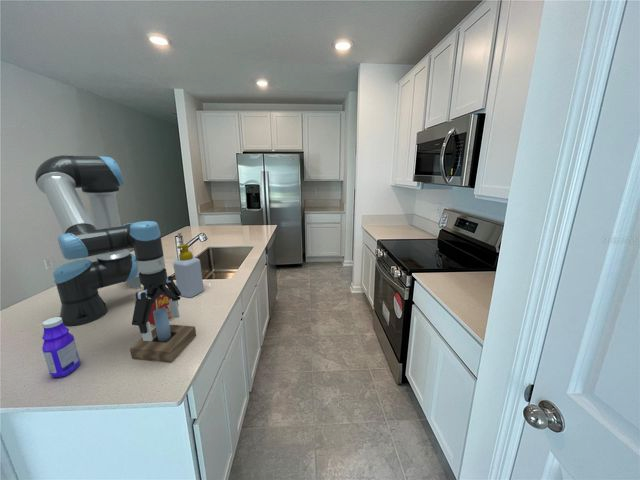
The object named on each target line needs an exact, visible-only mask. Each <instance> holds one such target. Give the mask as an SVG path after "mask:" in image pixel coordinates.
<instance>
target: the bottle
mask: <svg viewBox="0 0 640 480" xmlns="http://www.w3.org/2000/svg"><path fill="white" fill-rule="evenodd" d="M42 328H43V334H42V337H41V339H42V340H43V343H42V347H41V349H42V353H43V358H44V359H45V360H44V361H45V363H46V365H47V369H48V372H49V373H48V374H49V375H50V376H51V377H53V378H62V377H65V376H67V375H69V374H71V373H72V372H74V370H76V369H77V368H78V367H79V365H80V363H81V359H80V355H79V351H78V347H77V344H76V340H75V337H74V335H73V334H72V333H71V332H69V331H70V328H68V326H65V325H64V323H63V321H62V318H61V317H60V316H57V317H56V316H55V317H51V318H48V319H46V320H44V321H43V322H42Z"/></svg>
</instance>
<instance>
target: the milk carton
mask: <svg viewBox="0 0 640 480" xmlns="http://www.w3.org/2000/svg"><path fill="white" fill-rule="evenodd" d="M143 290H144V286H143V285H141V288H140V292H142V291H143ZM148 299H152V298H149V297H148ZM170 300H171V299H169V298H168V297H166V296H165V295H164V294H163V295H161V296H159V297H158V298H157V299H156V301H155V302H154V303H153V306H152V309H151V312H150V314H149V317H148V320H147V322H150V327H153V328H155V327H156V326H155V321H154V316H153V311H155V310H156V309H159V308H166V309H167V314H168V320H169V322H171V320H174V319H175V317H171V311H170V305H169V301H170Z"/></svg>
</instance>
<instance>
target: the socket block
mask: <svg viewBox="0 0 640 480" xmlns="http://www.w3.org/2000/svg"><path fill="white" fill-rule="evenodd" d="M169 325H170V331H171V337H172V338H171V339H170V340H169V341H168V342H167V343H164V342H158V337H157V331H156V327H153V329H151V333H152V338H153V340H152V341H143V337H142V338H140V340H138V341H137V342H135V344H133V345H132V346H131V347H129V351H130V355H131V359H132V360H138V361H139V360H140V361H142V360H143V361H150V362H151V361H153V362H163V363H171V364H172V363H173V362H174V361H175V360H176V358H177V357H178V356H179V355H180V354H181V353H182V352H184V350H185V349H186V347H188V345H190V343H191V342H192V341H194V339H196V337H197V332H196V331H197V330H196V326H194V325H182V324H181V325H180V324H169Z"/></svg>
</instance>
